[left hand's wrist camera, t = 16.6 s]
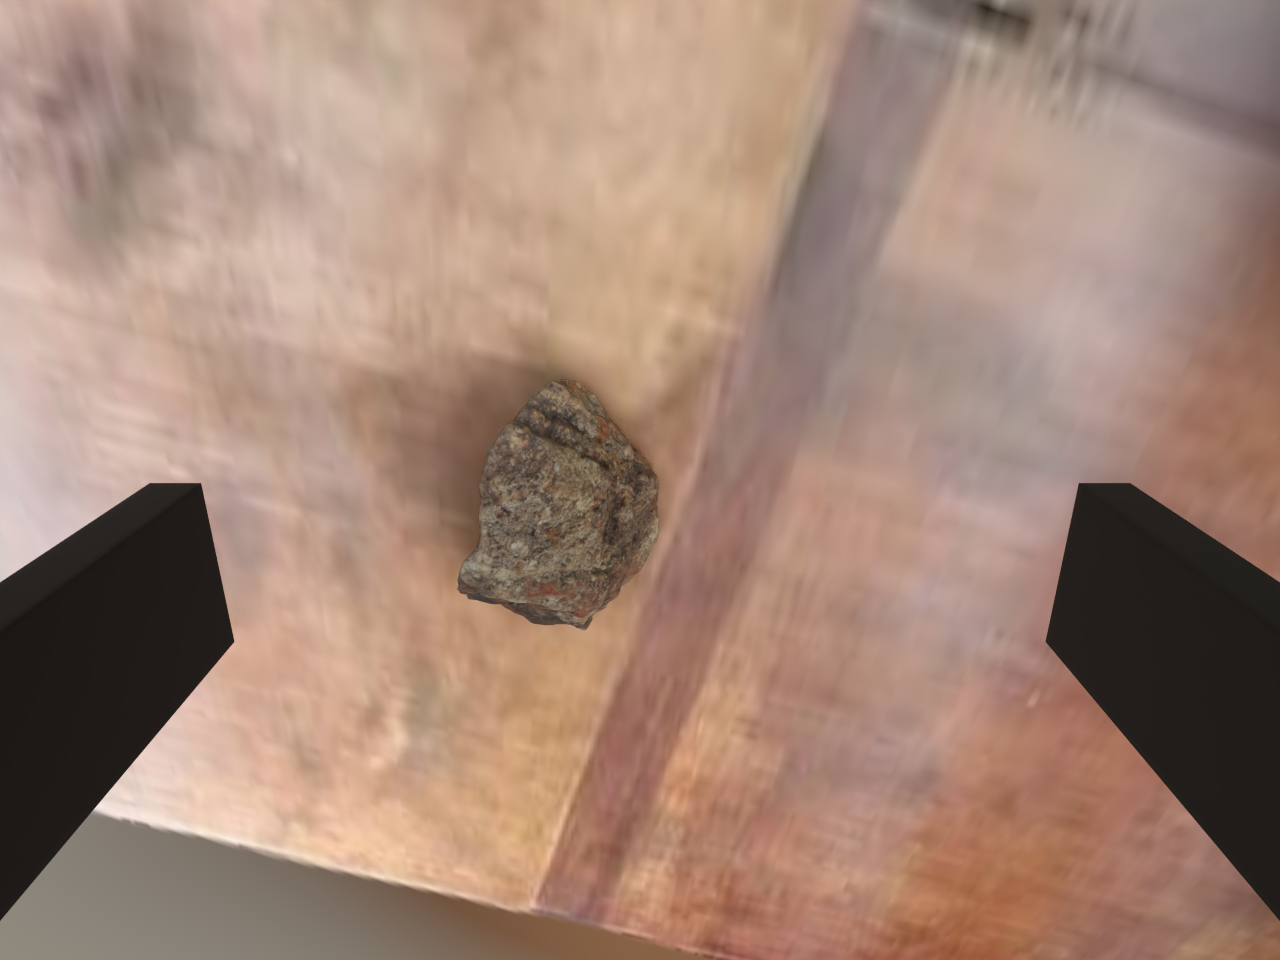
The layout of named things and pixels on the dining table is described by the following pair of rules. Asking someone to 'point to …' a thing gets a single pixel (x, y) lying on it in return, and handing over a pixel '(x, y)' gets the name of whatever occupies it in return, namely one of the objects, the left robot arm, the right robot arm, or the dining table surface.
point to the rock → (561, 511)
